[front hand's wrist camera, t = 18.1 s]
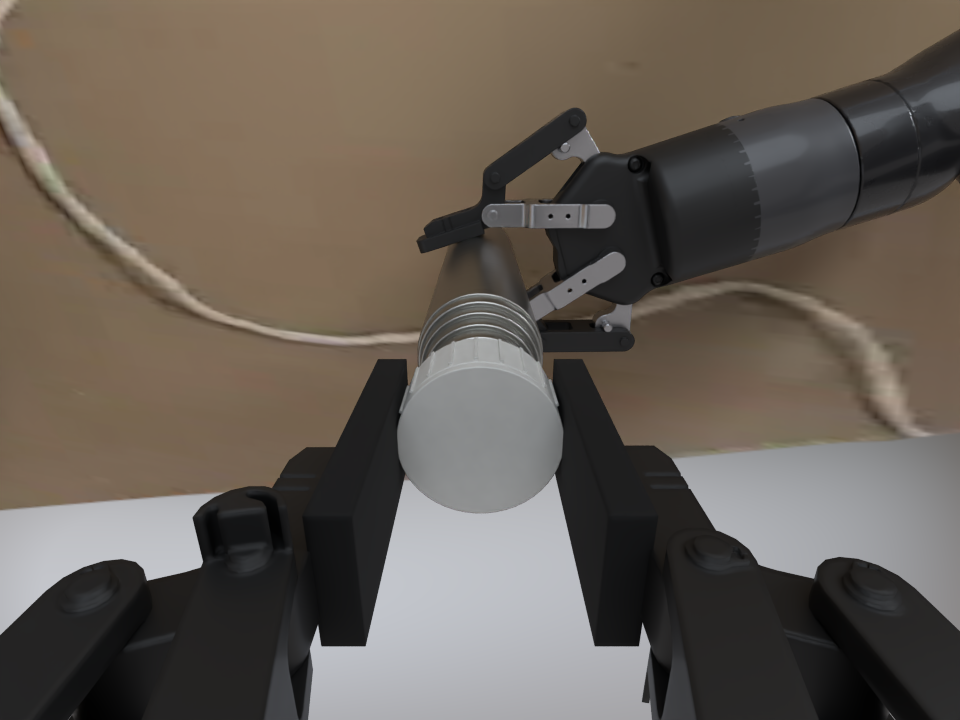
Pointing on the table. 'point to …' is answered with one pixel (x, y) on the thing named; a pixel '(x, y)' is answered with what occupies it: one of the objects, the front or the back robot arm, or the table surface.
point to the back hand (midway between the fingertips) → (435, 286)
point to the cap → (480, 427)
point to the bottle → (480, 298)
